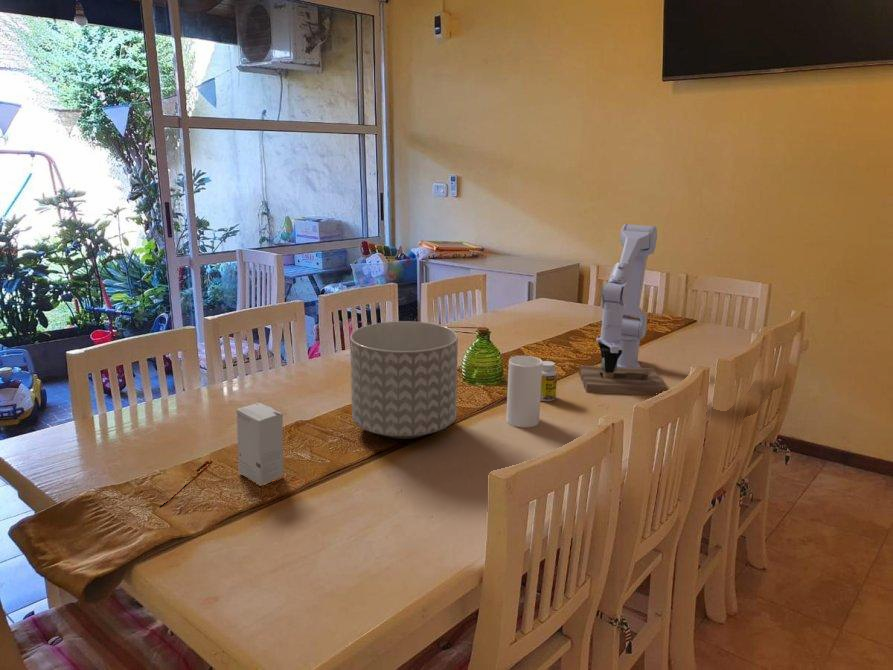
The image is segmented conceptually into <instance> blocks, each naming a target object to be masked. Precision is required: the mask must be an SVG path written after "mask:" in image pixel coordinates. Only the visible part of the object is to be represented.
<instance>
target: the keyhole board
mask: <svg viewBox="0 0 893 670" xmlns="http://www.w3.org/2000/svg"><path fill="white" fill-rule="evenodd" d="M601 366H602V365H601ZM601 366H598V365H579V367H578V375H579V378H580V380H581V382H582V384H583V387H584V389H585V392H586V393H597V394H598V393H599V394H601V393H603V394H627V395H630V394H631V395H653V394H654V396H657V395H656V393H657V394H659V393H662V392H663V391H666V390H667V386H666V385H665V382H663V380H662V379H661V377H660V376H659V375H658V374H657V372H656V371H655V369H654V368H653V367H641V368H631V367H617V371H615V372H614V378H603V370H602V369H601Z"/></svg>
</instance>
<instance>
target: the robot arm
mask: <svg viewBox="0 0 893 670" xmlns="http://www.w3.org/2000/svg"><path fill="white" fill-rule="evenodd" d="M657 238H658V229H657V227H656V226H655V225H651V226H649V225H639V224H628V223H625V224H624V225H623V226H622V227H621V230H620V238H619V239H620V243H621V246H622V247H623V248H622V252H621V256H620V259H619V262H616V263H614V265H613V268H612V270H611V273H610V276H609V279H608V281H607V283H604V284H603V286H602V289H601V293H600V298H601V309H602V315H601V316H602V317H601V328H600V337H596V338H595V341H596V342H597V344H598V346H599V351H600V355H601V359H602V358H604V361H605V371H606V372H610V373H613V371H614V369H615V366H616V363H617V367H631V368H642V367H641V365H640V363H639V362H638V361H639V360H638V359H639V352H640V351H639V350H640V341H641V340H642V339H643V338H644V337H646V332H647V329H648V327H647V326H648V323H647V322H648V315H647V314H646V312H645V311H644V310H643V309H642V308H641V307H640V305H641V299H642V292H643V288H644V287H643V285H644V278H645V273H646V266H647V261H648V259H649V255H652V254H654V253H655V250H656V247H657V246H656V245H657V240H658V239H657ZM617 360H618V361H617Z"/></svg>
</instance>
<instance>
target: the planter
mask: <svg viewBox="0 0 893 670" xmlns="http://www.w3.org/2000/svg"><path fill="white" fill-rule="evenodd" d="M349 337H350V338H349V345H350V346H349V347H350V348H349V349H350V352H349V353H350V355H349V356H350V386H351V387H350V389H351V390H350V391H351V393H350V394H351V417H352V421H353V422H354V424H356V425H357V426H358V427H359V428H361V429H362V430H365V431H367V432H370V433H373V434H377V435H381V436H383V437H387V438H392V439H398V440H406V439H407V440H409V439H414V438H415V439H416V438H420V437H421V438H422V437H424V436H426V435H427V436H428V435H429V434H433V433H434V434H435V433H436V432H439V431H441V430H444V429H446V428H448V427H449V426H451V425H452V424H453V423H454V422H455V420H456V418H457V402H458V401H457V400H458V399H457V397H458V396H457V394H458V393H457V392H458V356H459V355H458V353H459V352H458V351H459V347H458V346H459V345H458V344H459V336H458V333H457V332H456V331H454V330H453V329H452V328H450V327H447V326H444V325H440V324H436V323H431V322H424V321H414V320H413V321H411V320H410V321H409V320H406V321H405V320H404V321H403V320H400V321H398V320H397V321H385V322H378V323H377V322H376V323H373V324H368V325H364V326H361V327H359V328H357V329H355V330H353V332H351V333H350V335H349Z"/></svg>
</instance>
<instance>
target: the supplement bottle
mask: <svg viewBox="0 0 893 670" xmlns="http://www.w3.org/2000/svg"><path fill="white" fill-rule="evenodd" d="M542 362H543V364H542V381H541V397H540V402H552V401H554V400H555V399H556V397H557V396H556V394H557V383H558V370H557V369H556V363H555V362H553V361H551V360H549V361H548V360H542Z"/></svg>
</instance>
